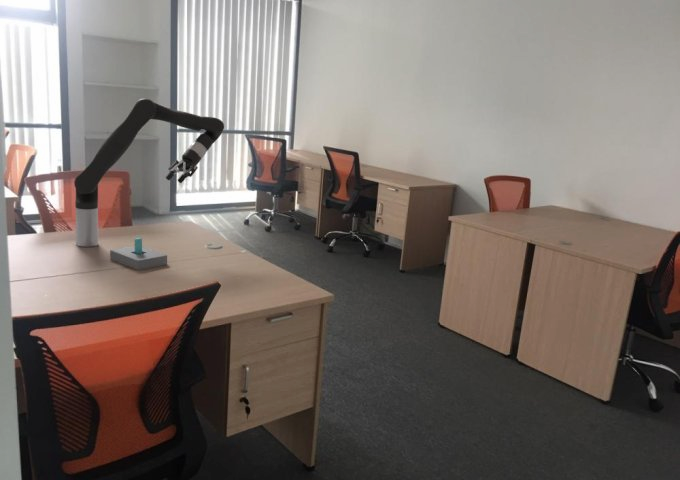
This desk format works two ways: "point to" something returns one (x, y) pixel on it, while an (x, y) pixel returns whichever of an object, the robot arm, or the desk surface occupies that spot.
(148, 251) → the hole block
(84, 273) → the desk surface
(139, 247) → the peg
